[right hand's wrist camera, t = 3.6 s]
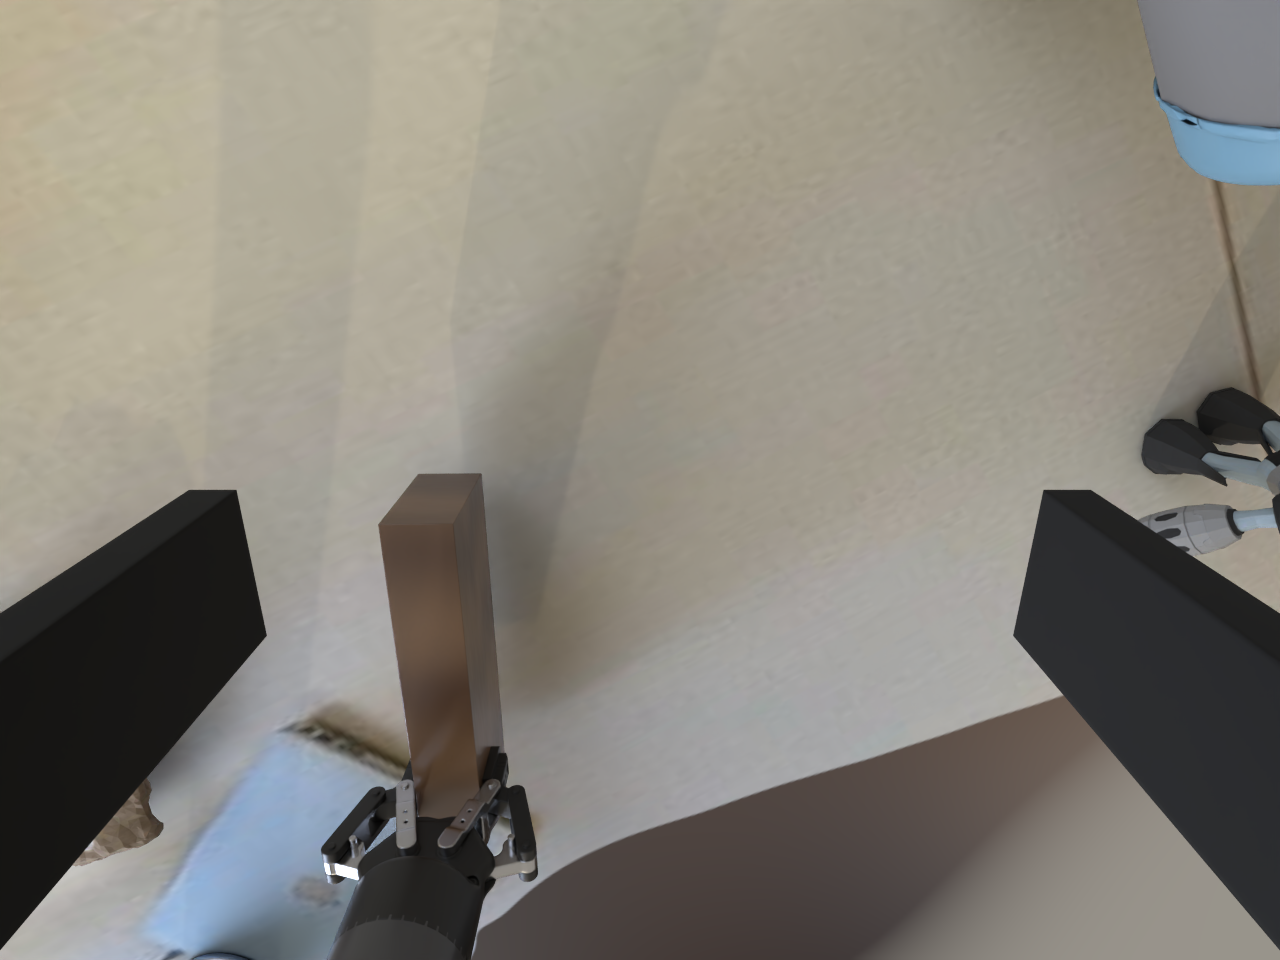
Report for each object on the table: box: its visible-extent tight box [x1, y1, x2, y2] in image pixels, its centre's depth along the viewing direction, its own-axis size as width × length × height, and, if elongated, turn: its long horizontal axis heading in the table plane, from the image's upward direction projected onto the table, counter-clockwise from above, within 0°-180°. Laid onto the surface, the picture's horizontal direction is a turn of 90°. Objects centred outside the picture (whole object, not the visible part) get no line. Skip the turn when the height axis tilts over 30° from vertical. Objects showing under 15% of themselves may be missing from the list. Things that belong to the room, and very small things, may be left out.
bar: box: [379, 474, 504, 819], centre depth 53 cm, size 25×4×9 cm, turn 0°
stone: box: [73, 778, 163, 866], centre depth 61 cm, size 21×15×6 cm
